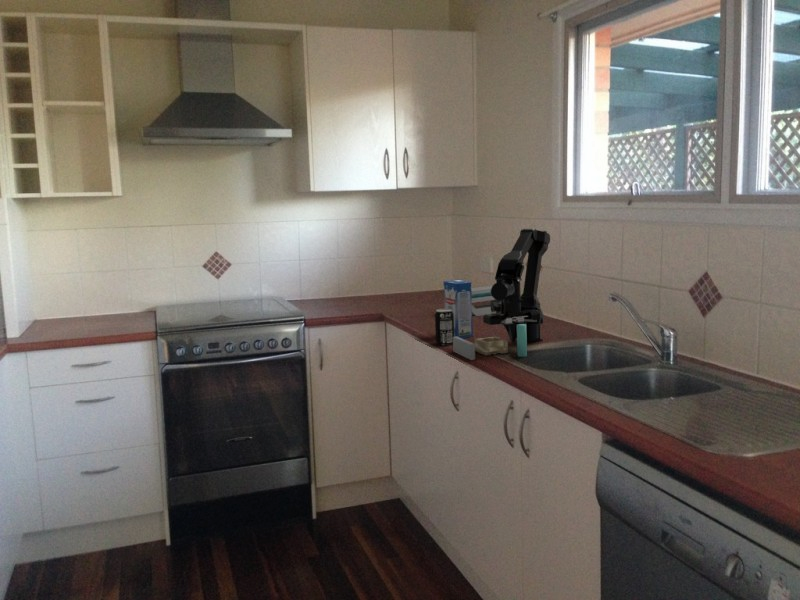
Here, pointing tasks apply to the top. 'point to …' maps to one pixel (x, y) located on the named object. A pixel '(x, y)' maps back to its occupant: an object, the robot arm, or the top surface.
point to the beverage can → (444, 326)
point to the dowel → (521, 340)
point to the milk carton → (459, 306)
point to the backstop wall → (464, 348)
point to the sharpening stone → (482, 295)
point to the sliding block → (491, 345)
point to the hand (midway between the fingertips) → (512, 342)
